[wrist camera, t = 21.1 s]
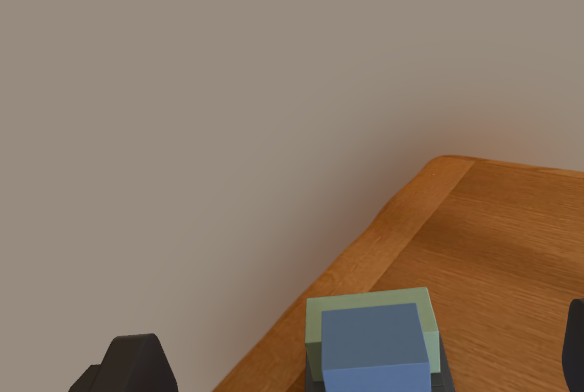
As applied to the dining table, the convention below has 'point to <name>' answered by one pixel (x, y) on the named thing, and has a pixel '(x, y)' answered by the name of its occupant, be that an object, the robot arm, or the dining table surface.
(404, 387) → the blue rectangular block
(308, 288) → the dining table surface
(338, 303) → the seat frame
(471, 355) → the dining table surface
